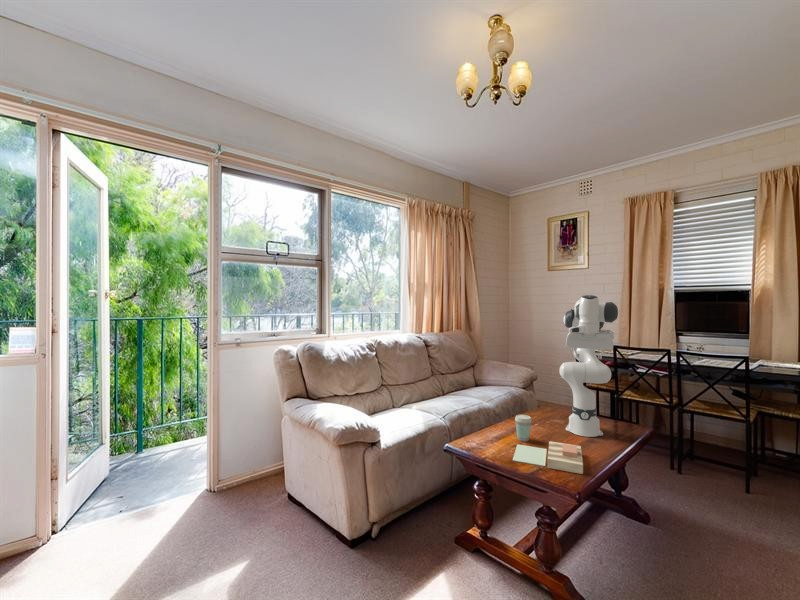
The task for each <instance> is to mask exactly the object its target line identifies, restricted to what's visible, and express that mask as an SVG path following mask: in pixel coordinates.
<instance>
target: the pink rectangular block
mask: <svg viewBox="0 0 800 600" xmlns="http://www.w3.org/2000/svg"><path fill="white" fill-rule="evenodd" d="M567 444H568V443H564V444H563V456H569V457H575V458H577V446H573V445H574V444H571V445H567Z"/></svg>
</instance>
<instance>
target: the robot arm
mask: <svg viewBox="0 0 800 600" xmlns="http://www.w3.org/2000/svg"><path fill="white" fill-rule="evenodd" d="M573 307H574V308H570V310H567V312H565V313H564V316H563V319H562V320H563V323H564V326H565V327H566V328H568V333H567V335H566V338H565V347H567V348H570V349H571V348H572V349H573V356H574V358H575V359H576V360H577V361H565V362H562V363H561V365H560V366H559V371H558V372H559V375H560V377H561V378H562V379H563V380H564V382H567V384H568V385H569V387H570V389H571V391H572V397H573V399H572V400H573V401H572V404H573V405H572V408H571V409H572V413H571V414H570V415H569V416H568V424H567V425H566V427H565V431H567V432H570V433H573V435H577V436H581V437H588V438H591V437H592V438H595V437H598V436H604V433H603V431H602V430H601V429H600V419H599V418H598V417H597V408H596V402H597V401H596V394H595V392H594V391H592V390H591V389H589V388H588V387H587V386H585V385H584V383H586V384H587V383H588V384H596V385H597V384H599V385H600V384H608V382H609V381H610V380H611V378H612V370H611V369H610V367H609V366H608V365H606V364H604V363H603V362H602V361H600V360H602V359H603V358H602V357H603V355H604V353H605V351H612V350H613V349H614V341H613V340H614V338H615V333H614V331H612V330H610V329H603V328H604V325H605V323H611V324H612V323H613V322H615V321H616V320H617V319H618V318H619V316H618V315H619V310H618V306H617V304H616V303H614V302H612V301H607V302H603V301H602V302H601V301H599V297H598V296H596V295H593V294H592V295H591V294H588V295H581V297H580V299H578V300H577V301H576V302H575V304H574V306H573ZM596 350H600V354H598V355H596Z"/></svg>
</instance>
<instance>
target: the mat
mask: <svg viewBox="0 0 800 600" xmlns="http://www.w3.org/2000/svg"><path fill="white" fill-rule="evenodd" d="M547 452H548V449H547V448H544V447H537V446H530V445H525V444H524V445H523V444H517V443H516V446H515V452H514V454H513V457H512V459H511V460H512V461H513V462H517V463H518V462H519V463H523V464H530V465H535V466H540V467H546V461H547V455H548V453H547Z"/></svg>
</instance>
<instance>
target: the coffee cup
mask: <svg viewBox="0 0 800 600" xmlns="http://www.w3.org/2000/svg"><path fill="white" fill-rule="evenodd" d="M514 421H515V429H516V438H517V440H518V441H520V442H528V441H529V440H530V436H531V435H530V434H531V427H532V422H533V420H532V417H531V416H530V415H526V414H516V415H515V418H514Z"/></svg>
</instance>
